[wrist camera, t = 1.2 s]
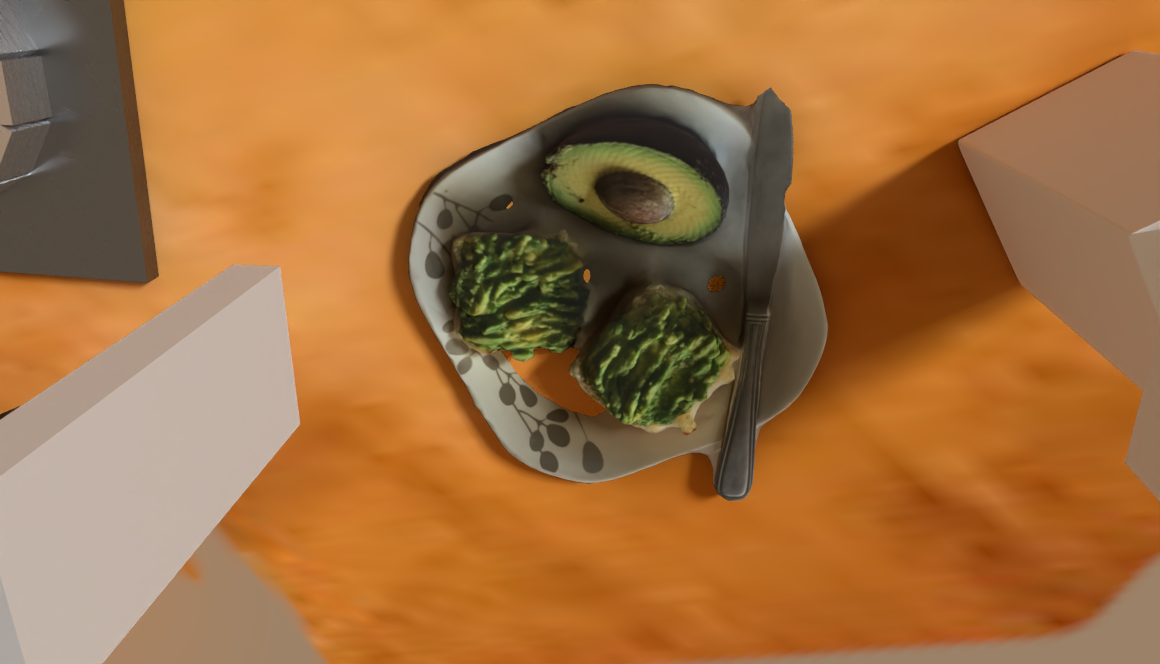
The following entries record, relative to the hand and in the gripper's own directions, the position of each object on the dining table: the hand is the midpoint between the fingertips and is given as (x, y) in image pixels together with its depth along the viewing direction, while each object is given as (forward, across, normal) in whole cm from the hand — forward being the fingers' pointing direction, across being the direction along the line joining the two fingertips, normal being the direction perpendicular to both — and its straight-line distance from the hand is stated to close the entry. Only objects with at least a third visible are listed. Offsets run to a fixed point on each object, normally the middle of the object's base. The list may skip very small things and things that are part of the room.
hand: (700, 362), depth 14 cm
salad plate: (+26, -2, -7) cm, 27 cm away
